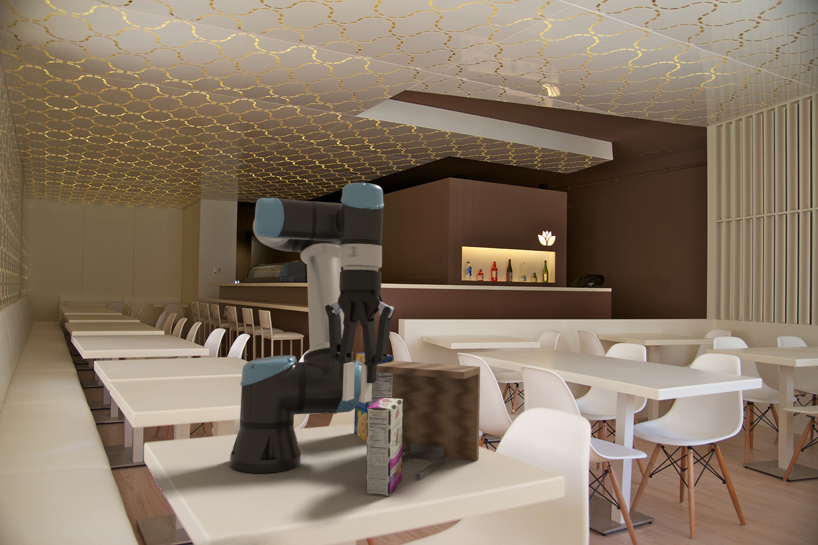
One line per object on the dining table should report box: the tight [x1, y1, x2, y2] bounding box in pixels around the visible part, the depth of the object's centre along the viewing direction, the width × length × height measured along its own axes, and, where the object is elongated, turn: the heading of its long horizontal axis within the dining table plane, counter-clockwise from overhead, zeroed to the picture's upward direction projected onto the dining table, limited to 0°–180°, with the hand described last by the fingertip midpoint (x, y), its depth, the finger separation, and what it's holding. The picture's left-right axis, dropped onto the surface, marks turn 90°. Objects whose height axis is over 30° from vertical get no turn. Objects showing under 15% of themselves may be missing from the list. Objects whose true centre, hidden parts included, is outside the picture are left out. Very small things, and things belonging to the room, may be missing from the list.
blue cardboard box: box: [353, 352, 394, 443], centre depth 154 cm, size 7×11×22 cm, turn 23°
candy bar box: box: [365, 398, 403, 497], centre depth 112 cm, size 11×5×16 cm, turn 168°
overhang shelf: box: [377, 360, 481, 481], centre depth 128 cm, size 22×21×22 cm
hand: (357, 400), depth 102 cm, fingers open, 3 cm apart
